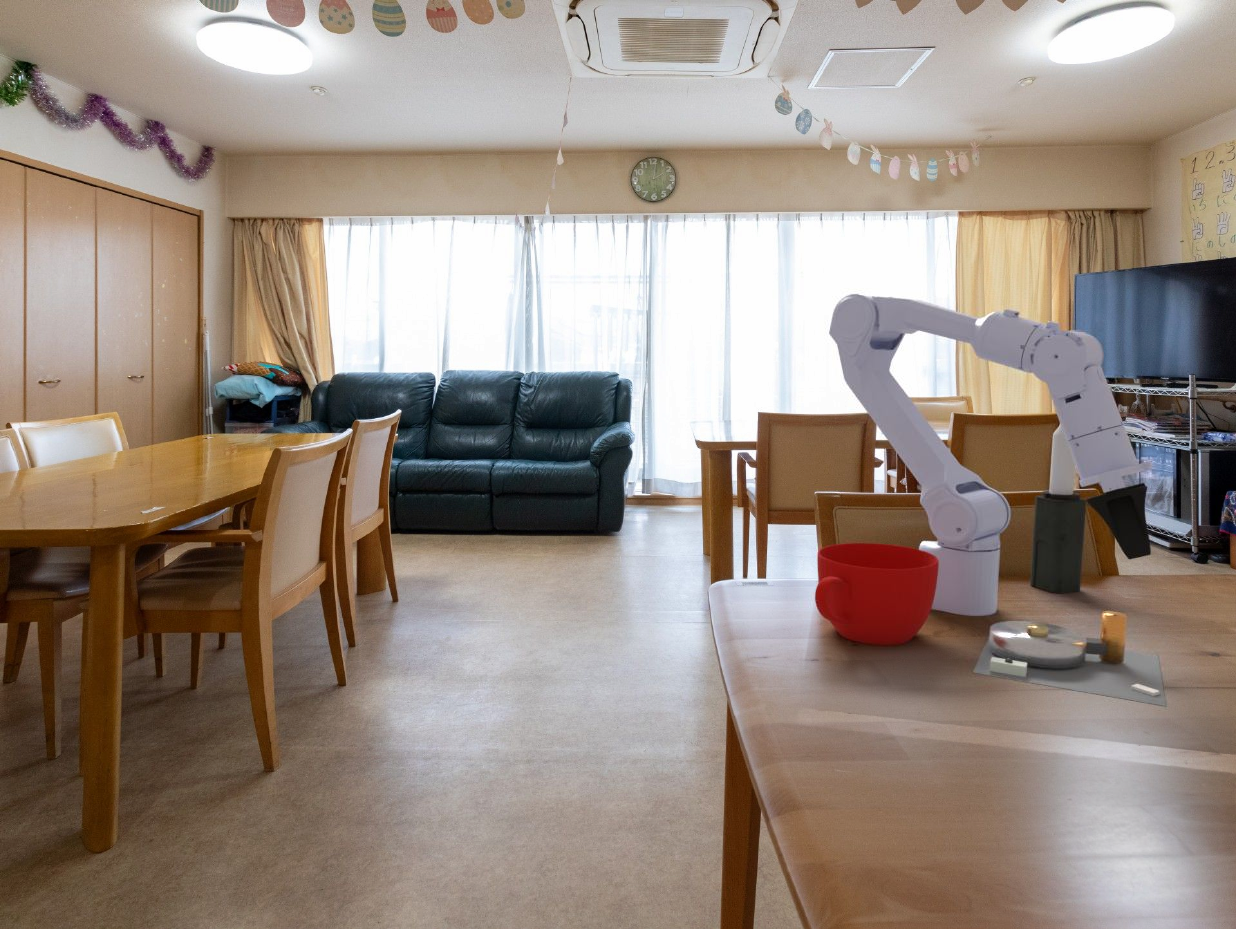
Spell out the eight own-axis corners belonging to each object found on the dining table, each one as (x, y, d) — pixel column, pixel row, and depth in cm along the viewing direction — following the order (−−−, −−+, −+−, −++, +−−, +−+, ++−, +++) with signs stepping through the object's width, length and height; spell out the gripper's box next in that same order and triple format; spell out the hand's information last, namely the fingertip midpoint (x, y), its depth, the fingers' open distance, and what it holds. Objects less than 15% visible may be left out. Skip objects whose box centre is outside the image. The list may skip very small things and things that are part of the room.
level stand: (972, 682, 83) (973, 659, 82) (990, 639, 95) (992, 619, 95) (1165, 716, 75) (1167, 691, 74) (1157, 664, 87) (1159, 642, 87)
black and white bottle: (1026, 584, 119) (1037, 408, 116) (1054, 581, 121) (1066, 408, 117) (1054, 593, 114) (1066, 410, 111) (1084, 590, 116) (1096, 410, 113)
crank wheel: (996, 663, 84) (999, 618, 84) (982, 635, 93) (985, 594, 92) (1137, 675, 81) (1141, 628, 80) (1110, 645, 89) (1113, 602, 89)
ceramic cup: (768, 646, 93) (770, 558, 92) (857, 617, 104) (860, 538, 102) (870, 680, 83) (874, 582, 82) (957, 644, 94) (961, 556, 93)
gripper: (1136, 418, 84) (1186, 549, 82) (1135, 425, 96) (1178, 539, 94) (1061, 440, 87) (1106, 567, 85) (1068, 444, 100) (1108, 555, 97)
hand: (1139, 554), depth 90 cm, fingers open, 7 cm apart
